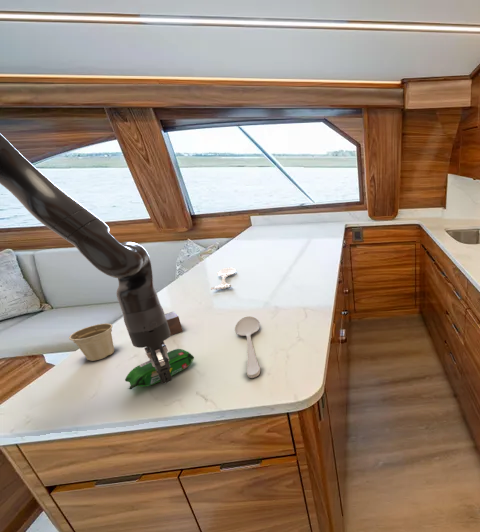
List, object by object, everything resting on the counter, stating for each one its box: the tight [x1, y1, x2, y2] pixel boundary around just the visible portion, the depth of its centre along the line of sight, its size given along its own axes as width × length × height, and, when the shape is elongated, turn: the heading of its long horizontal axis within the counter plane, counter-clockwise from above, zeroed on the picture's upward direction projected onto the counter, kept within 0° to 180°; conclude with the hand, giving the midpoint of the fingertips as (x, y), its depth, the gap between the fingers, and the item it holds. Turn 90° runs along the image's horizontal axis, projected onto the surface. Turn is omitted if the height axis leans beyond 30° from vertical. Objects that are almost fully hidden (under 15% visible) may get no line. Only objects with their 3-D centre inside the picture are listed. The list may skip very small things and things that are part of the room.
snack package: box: [124, 348, 195, 390], centre depth 82 cm, size 7×16×5 cm, turn 148°
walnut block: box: [164, 311, 183, 337], centre depth 104 cm, size 6×6×6 cm
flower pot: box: [68, 323, 115, 362], centre depth 91 cm, size 9×9×9 cm
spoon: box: [234, 316, 261, 379], centre depth 95 cm, size 35×8×3 cm, turn 29°
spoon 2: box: [210, 267, 237, 291], centre depth 150 cm, size 9×32×4 cm, turn 25°
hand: (166, 381), depth 79 cm, fingers closed
